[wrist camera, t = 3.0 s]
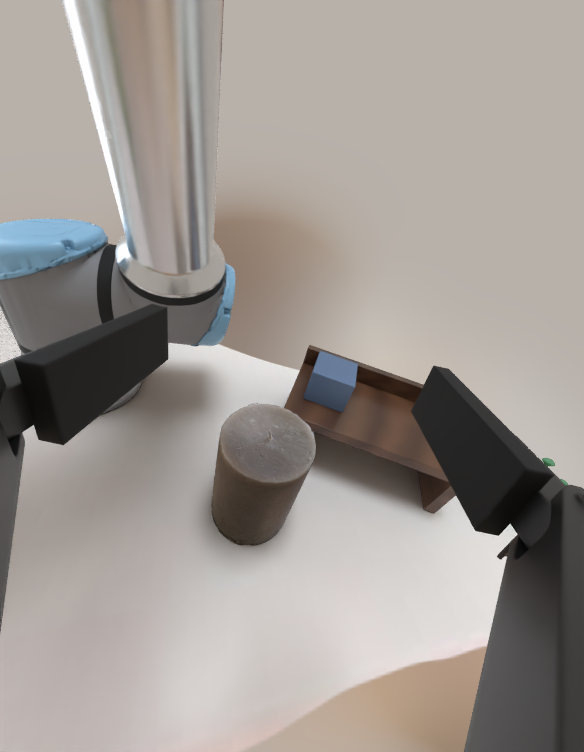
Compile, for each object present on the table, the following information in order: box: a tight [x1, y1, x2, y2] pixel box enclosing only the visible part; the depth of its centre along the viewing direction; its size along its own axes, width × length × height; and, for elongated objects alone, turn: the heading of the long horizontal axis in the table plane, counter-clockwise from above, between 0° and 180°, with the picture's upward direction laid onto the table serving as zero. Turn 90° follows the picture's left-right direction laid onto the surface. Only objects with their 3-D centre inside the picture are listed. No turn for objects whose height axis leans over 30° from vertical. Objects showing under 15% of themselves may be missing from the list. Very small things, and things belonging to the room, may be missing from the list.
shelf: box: [284, 345, 456, 513], centre depth 43 cm, size 26×14×12 cm, turn 76°
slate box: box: [303, 351, 358, 412], centre depth 40 cm, size 6×6×5 cm
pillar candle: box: [211, 403, 316, 545], centre depth 31 cm, size 10×10×15 cm
